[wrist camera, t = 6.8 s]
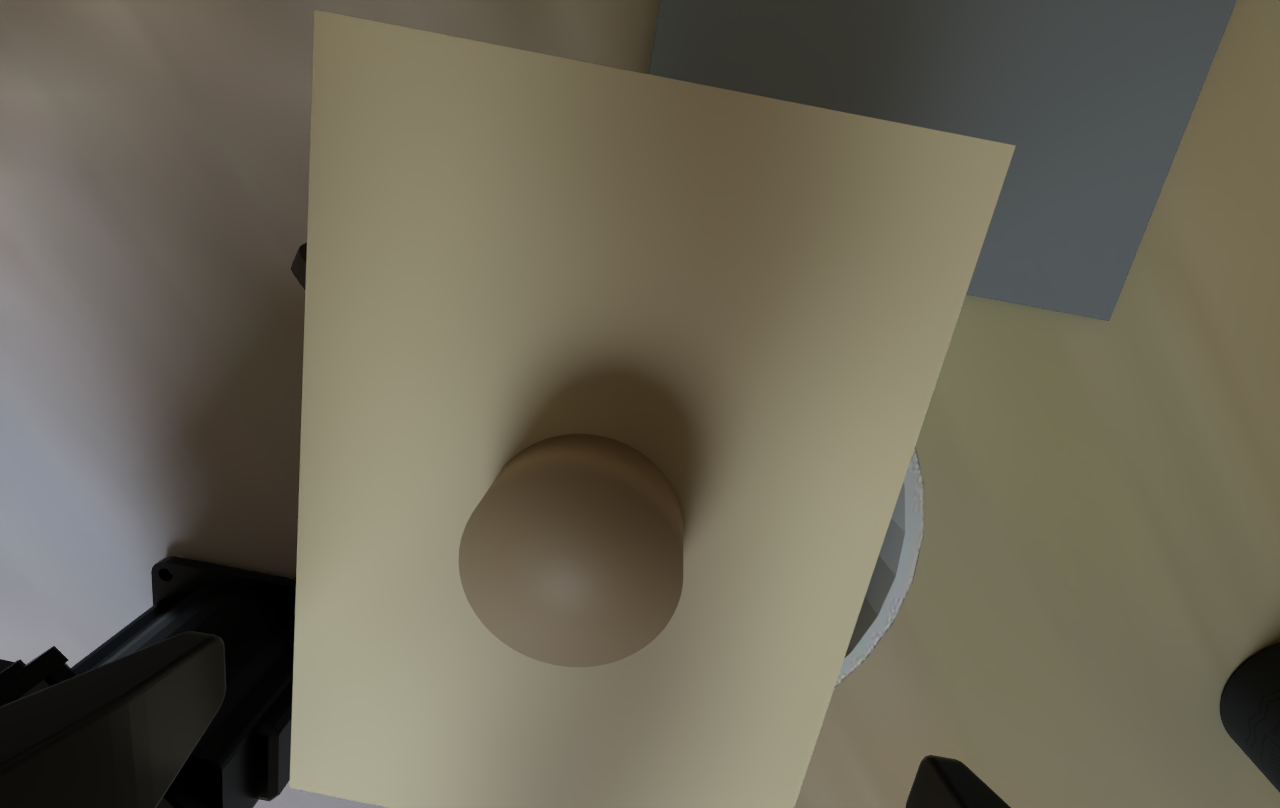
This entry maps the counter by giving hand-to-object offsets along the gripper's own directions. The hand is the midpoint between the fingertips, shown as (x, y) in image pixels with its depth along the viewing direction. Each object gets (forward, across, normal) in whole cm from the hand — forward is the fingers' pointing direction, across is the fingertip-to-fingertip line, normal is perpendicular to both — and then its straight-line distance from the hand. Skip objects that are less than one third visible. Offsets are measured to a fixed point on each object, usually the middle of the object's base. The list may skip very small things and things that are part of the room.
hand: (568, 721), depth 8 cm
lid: (+3, 0, -3) cm, 4 cm away
